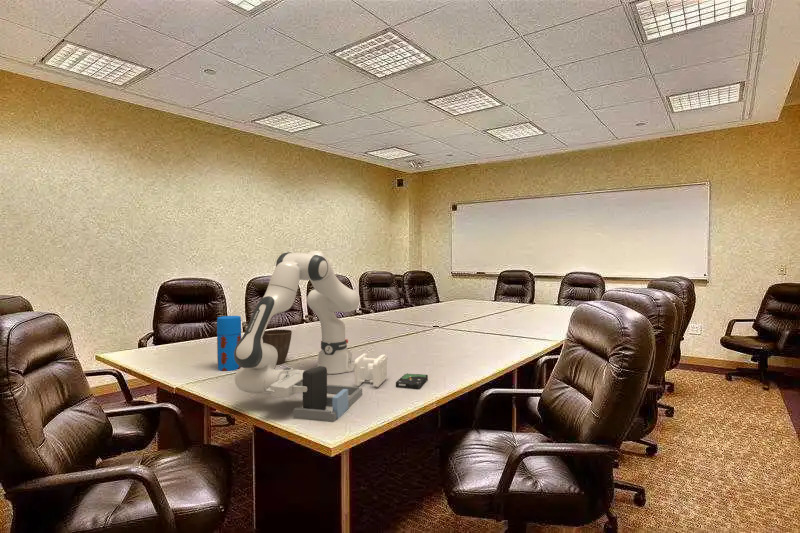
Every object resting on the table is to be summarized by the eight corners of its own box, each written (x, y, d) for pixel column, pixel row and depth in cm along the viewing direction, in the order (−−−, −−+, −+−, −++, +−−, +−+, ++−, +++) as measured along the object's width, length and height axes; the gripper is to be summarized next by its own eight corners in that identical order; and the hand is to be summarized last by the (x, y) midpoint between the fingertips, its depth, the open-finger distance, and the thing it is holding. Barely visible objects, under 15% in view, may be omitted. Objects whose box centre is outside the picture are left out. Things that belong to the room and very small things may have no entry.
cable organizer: (365, 377, 193) (365, 351, 192) (388, 379, 190) (388, 353, 190) (353, 387, 178) (353, 359, 178) (378, 389, 176) (378, 361, 175)
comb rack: (327, 391, 173) (327, 374, 172) (362, 394, 169) (362, 376, 169) (293, 417, 145) (293, 397, 145) (334, 421, 141) (334, 400, 141)
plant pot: (259, 361, 224) (259, 330, 223) (288, 358, 231) (287, 328, 230) (265, 368, 210) (264, 335, 210) (295, 364, 217) (295, 332, 217)
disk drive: (419, 391, 175) (428, 380, 189) (419, 384, 175) (428, 374, 189) (395, 388, 178) (405, 378, 192) (395, 382, 178) (405, 372, 192)
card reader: (319, 406, 156) (319, 364, 156) (328, 408, 154) (328, 366, 154) (301, 413, 149) (301, 370, 148) (310, 416, 146) (309, 372, 146)
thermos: (233, 371, 204) (233, 319, 203) (213, 370, 205) (212, 318, 205) (245, 365, 215) (245, 315, 214) (225, 365, 216) (225, 315, 216)
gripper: (261, 381, 144) (299, 384, 141) (291, 366, 164) (325, 368, 161) (262, 400, 144) (299, 403, 141) (291, 382, 164) (325, 385, 161)
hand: (313, 384), depth 151 cm, fingers open, 8 cm apart
